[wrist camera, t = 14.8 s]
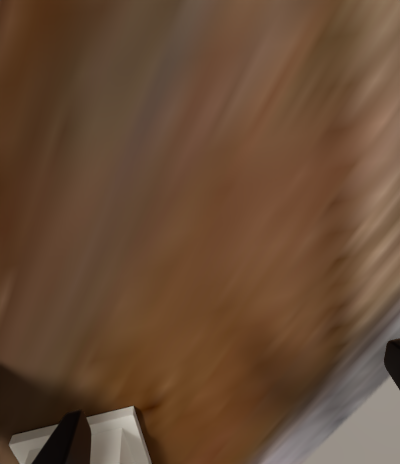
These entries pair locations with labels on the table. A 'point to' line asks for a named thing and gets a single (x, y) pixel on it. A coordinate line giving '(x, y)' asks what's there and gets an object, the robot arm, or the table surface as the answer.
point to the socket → (94, 440)
